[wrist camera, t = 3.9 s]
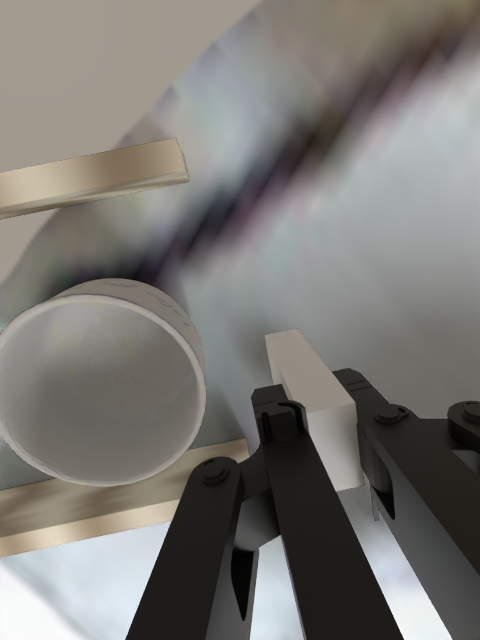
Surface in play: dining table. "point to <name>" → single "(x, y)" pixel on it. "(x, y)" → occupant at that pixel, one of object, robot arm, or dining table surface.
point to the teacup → (102, 383)
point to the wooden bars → (57, 495)
